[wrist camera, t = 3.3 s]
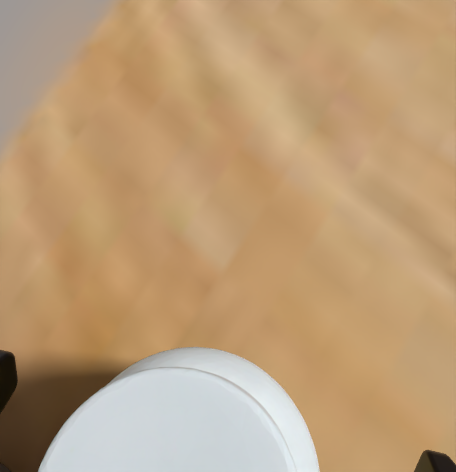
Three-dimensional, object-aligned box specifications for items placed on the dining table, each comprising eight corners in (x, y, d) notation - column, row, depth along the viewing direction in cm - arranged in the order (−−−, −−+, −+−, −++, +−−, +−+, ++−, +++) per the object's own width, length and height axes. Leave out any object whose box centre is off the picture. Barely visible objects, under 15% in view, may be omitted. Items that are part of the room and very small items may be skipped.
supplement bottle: (248, 575, 13) (245, 926, 4) (110, 484, 14) (-114, 616, 6) (316, 413, 15) (412, 429, 6) (187, 343, 16) (108, 270, 7)
